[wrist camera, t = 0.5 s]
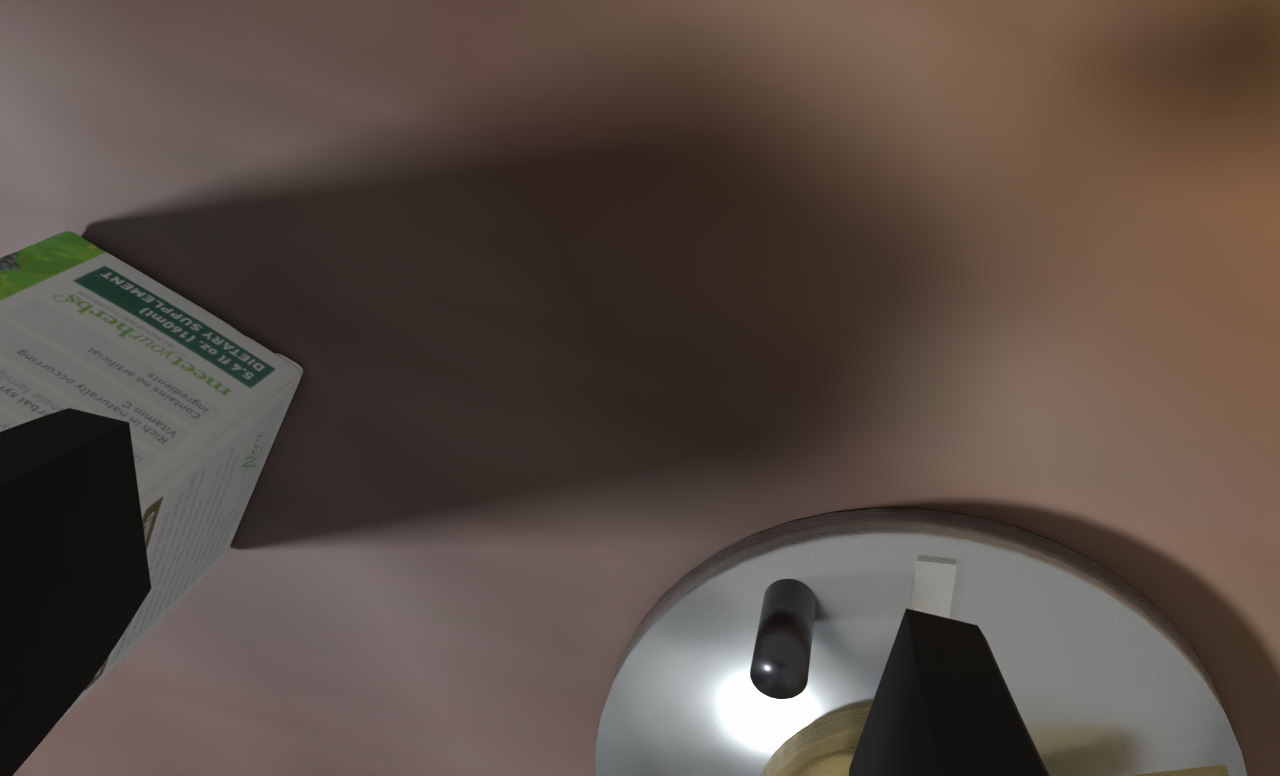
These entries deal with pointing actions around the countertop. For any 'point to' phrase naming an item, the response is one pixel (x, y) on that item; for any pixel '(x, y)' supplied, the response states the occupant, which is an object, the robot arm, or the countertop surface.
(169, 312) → the syrup box
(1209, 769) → the gold lugged disc
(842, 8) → the countertop surface
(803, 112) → the countertop surface
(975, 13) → the countertop surface
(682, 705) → the cap plate
